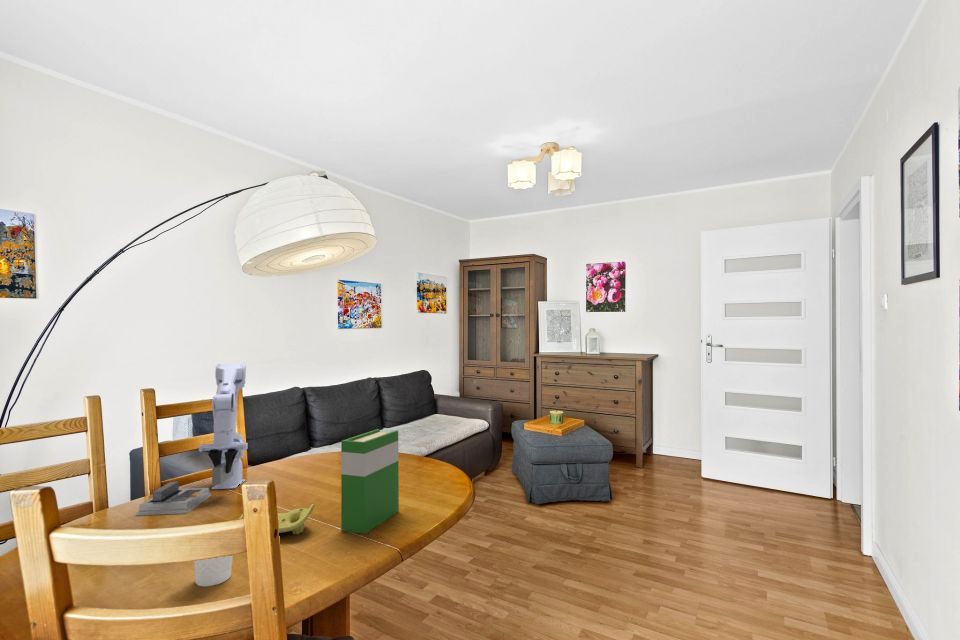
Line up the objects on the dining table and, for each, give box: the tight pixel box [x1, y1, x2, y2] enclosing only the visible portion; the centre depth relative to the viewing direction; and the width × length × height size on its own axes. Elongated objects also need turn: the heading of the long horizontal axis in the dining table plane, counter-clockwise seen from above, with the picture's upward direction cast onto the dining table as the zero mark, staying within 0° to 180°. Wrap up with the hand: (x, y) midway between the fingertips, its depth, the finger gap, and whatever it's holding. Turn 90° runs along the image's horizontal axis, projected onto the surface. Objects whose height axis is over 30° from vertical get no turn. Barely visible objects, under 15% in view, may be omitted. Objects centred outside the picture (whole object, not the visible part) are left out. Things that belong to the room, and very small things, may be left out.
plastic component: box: [238, 503, 315, 535], centre depth 130 cm, size 20×7×10 cm
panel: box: [211, 461, 233, 486], centre depth 157 cm, size 10×2×5 cm, turn 6°
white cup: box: [193, 554, 234, 587], centre depth 104 cm, size 8×8×10 cm
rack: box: [136, 481, 212, 517], centre depth 151 cm, size 16×14×6 cm
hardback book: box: [340, 428, 400, 535], centre depth 137 cm, size 18×7×24 cm, turn 159°
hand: (223, 472), depth 157 cm, fingers closed on panel, 2 cm apart
